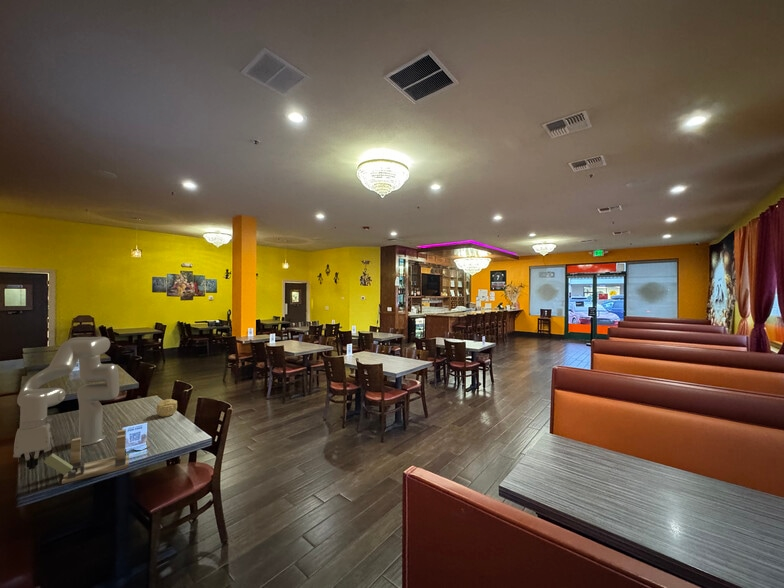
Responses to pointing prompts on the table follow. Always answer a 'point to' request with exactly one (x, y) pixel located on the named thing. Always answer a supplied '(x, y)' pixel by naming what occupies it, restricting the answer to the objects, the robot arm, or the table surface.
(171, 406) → the beige rounded lump
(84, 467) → the stool seat
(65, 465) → the hinged leg
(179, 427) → the table surface
